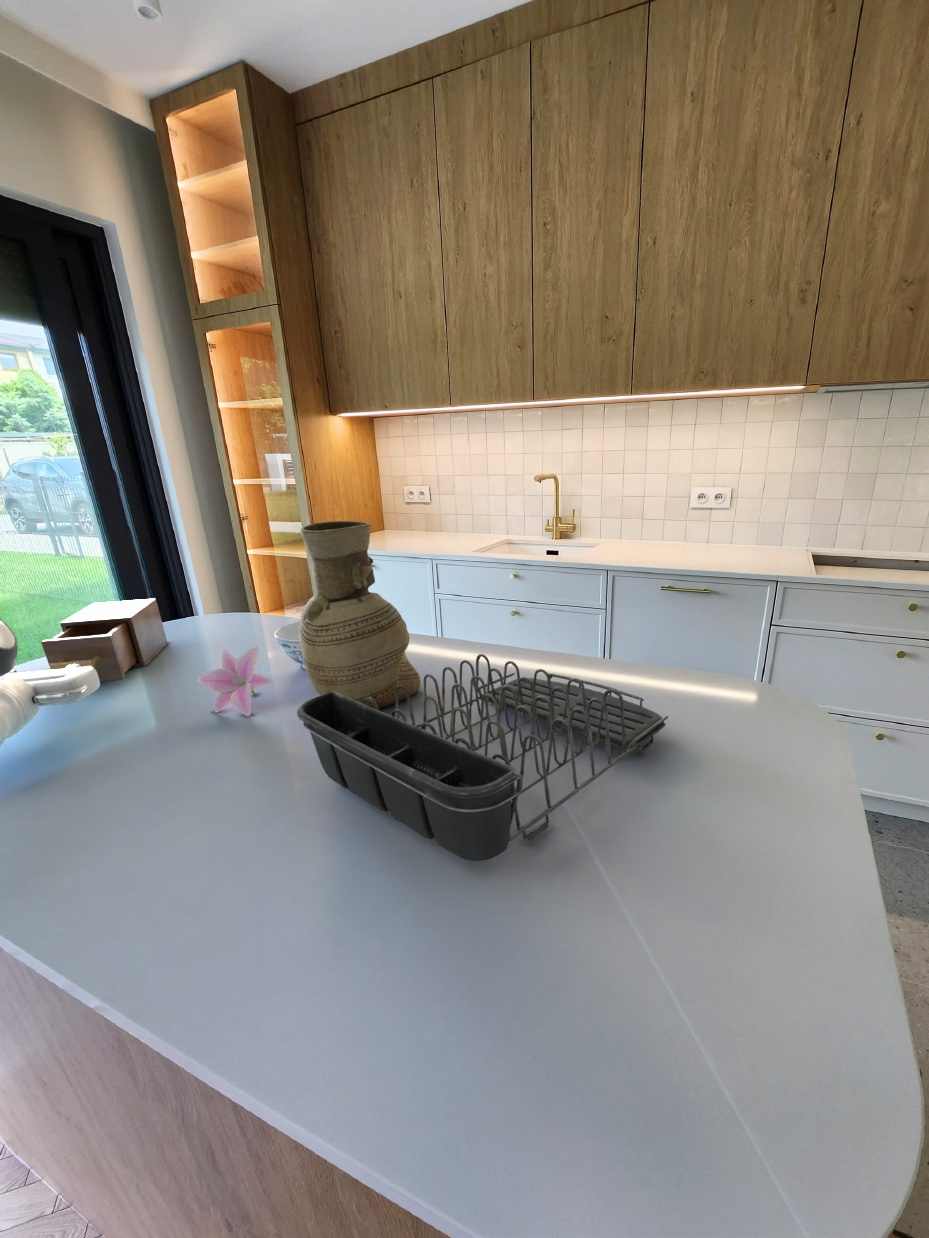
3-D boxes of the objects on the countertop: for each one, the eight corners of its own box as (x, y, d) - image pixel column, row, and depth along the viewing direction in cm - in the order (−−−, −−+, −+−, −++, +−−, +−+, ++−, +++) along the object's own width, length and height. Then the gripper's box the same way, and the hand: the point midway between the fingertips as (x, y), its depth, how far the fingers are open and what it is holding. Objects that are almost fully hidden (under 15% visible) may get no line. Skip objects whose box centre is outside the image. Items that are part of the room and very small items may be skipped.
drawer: (113, 688, 108) (99, 643, 104) (43, 696, 106) (26, 650, 102) (148, 654, 125) (137, 615, 122) (89, 660, 123) (75, 620, 119)
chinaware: (266, 669, 118) (258, 632, 115) (326, 648, 129) (321, 614, 126) (313, 684, 110) (306, 645, 107) (373, 660, 121) (368, 624, 118)
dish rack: (298, 783, 78) (281, 701, 73) (519, 683, 107) (518, 620, 103) (476, 907, 56) (469, 801, 52) (691, 739, 86) (699, 662, 81)
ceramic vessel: (407, 668, 116) (391, 511, 104) (432, 709, 98) (416, 526, 86) (307, 683, 110) (278, 519, 98) (314, 730, 92) (279, 536, 80)
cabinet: (145, 666, 121) (130, 617, 117) (76, 673, 119) (59, 622, 115) (167, 643, 135) (155, 598, 131) (107, 648, 133) (92, 603, 129)
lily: (202, 707, 104) (177, 673, 96) (255, 665, 110) (235, 630, 102) (245, 740, 100) (223, 708, 92) (298, 695, 105) (281, 661, 98)
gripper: (71, 677, 87) (108, 647, 99) (-92, 692, 83) (-32, 660, 95) (84, 715, 89) (118, 681, 102) (-73, 732, 85) (-18, 695, 98)
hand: (44, 671), depth 98 cm, fingers open, 8 cm apart
